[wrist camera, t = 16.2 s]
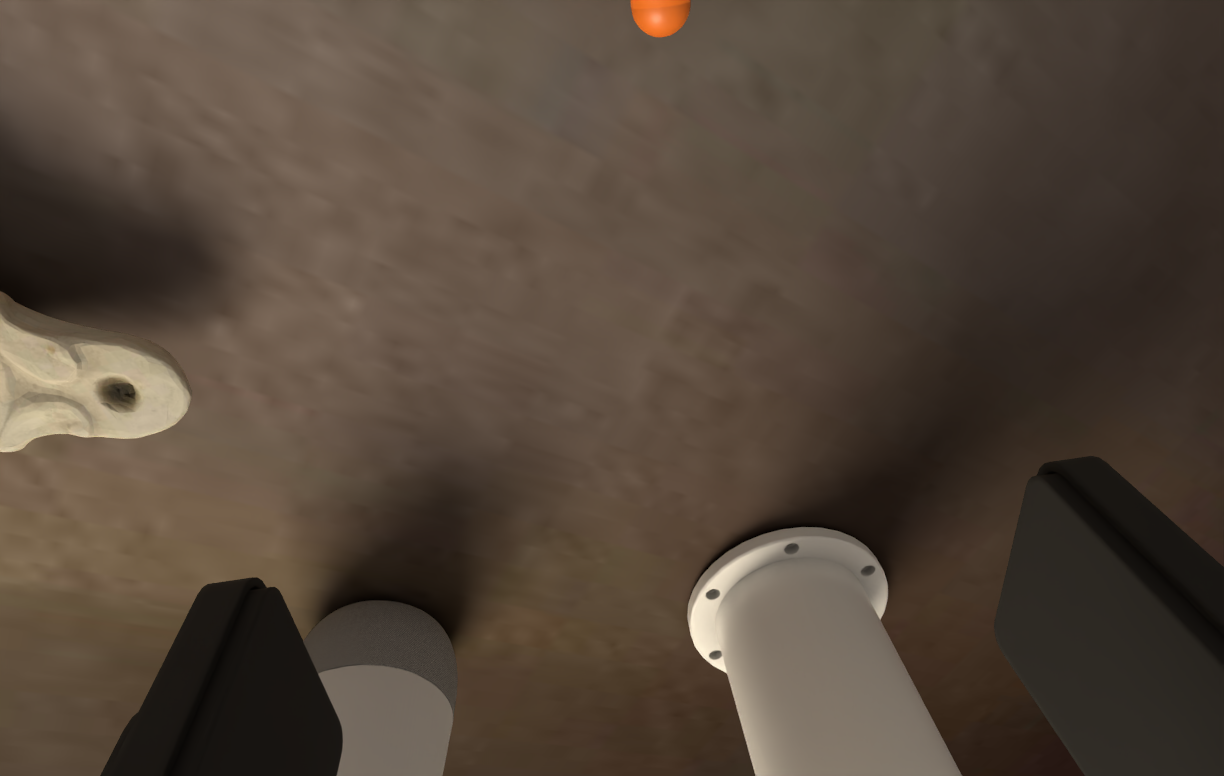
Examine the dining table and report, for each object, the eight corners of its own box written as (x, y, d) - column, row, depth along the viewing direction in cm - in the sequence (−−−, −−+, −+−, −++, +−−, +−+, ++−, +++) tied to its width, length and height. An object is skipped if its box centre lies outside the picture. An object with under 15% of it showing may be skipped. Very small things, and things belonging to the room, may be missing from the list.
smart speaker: (353, 704, 49) (297, 953, 37) (270, 615, 44) (176, 866, 32) (486, 658, 48) (474, 898, 36) (416, 562, 43) (375, 801, 31)
